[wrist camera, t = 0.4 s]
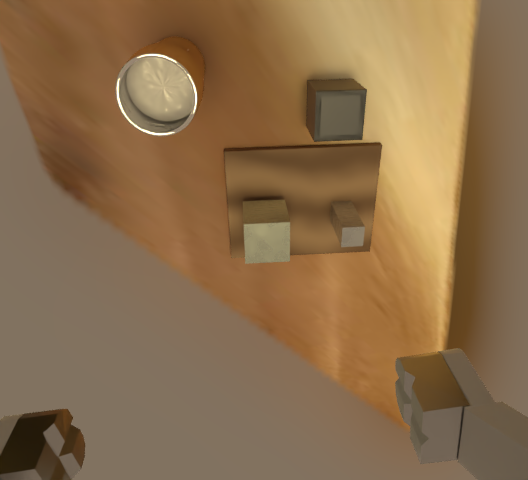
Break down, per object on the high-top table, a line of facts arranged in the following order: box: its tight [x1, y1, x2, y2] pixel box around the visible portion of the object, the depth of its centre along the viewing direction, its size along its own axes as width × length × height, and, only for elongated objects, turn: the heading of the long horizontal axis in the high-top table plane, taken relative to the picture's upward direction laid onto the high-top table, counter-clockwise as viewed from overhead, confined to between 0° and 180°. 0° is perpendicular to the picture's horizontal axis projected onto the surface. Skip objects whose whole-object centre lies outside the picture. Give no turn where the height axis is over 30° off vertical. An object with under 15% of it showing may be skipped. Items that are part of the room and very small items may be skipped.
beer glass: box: [115, 36, 205, 136], centre depth 42 cm, size 7×7×15 cm
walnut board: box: [224, 143, 382, 258], centre depth 57 cm, size 15×19×1 cm
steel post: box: [330, 201, 365, 247], centre depth 54 cm, size 3×3×7 cm
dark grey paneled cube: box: [306, 79, 367, 142], centre depth 49 cm, size 5×5×6 cm
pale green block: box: [243, 199, 290, 264], centre depth 54 cm, size 5×5×8 cm
